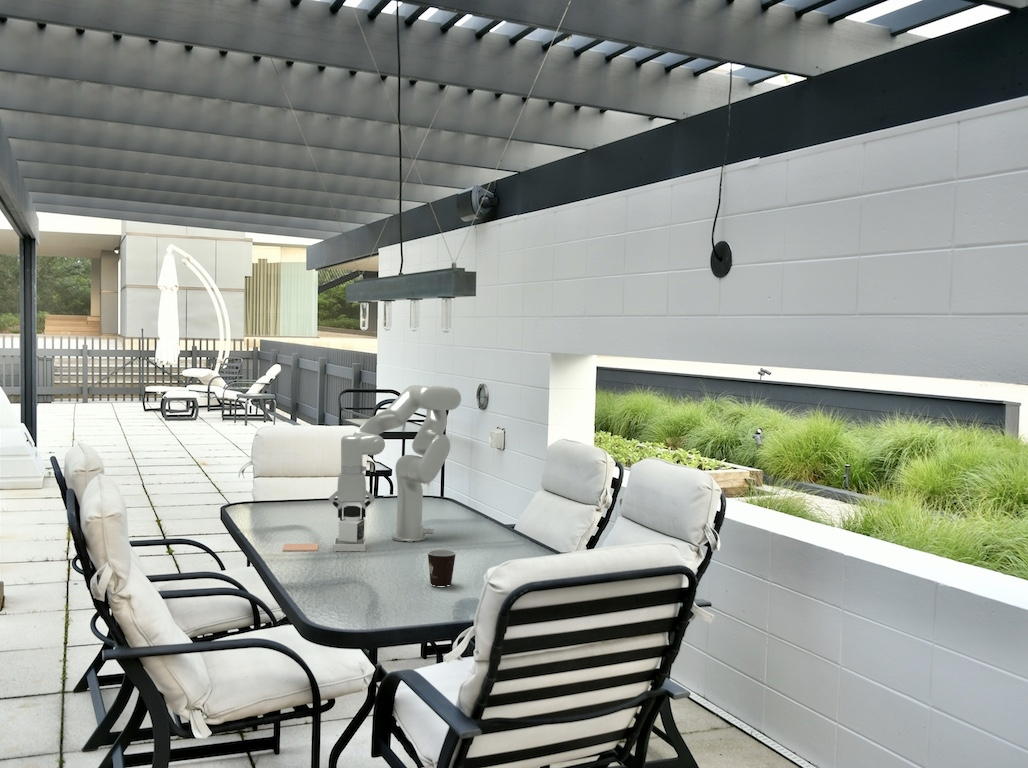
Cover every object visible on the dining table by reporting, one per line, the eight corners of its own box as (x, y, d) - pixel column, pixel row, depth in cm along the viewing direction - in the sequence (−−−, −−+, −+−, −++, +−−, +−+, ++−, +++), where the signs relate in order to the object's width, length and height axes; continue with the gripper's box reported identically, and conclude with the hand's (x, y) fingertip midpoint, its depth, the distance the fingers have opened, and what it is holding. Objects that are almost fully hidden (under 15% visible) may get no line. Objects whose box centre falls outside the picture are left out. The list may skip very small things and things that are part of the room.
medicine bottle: (357, 542, 331) (358, 509, 330) (338, 541, 333) (339, 507, 332) (364, 538, 338) (365, 505, 337) (345, 536, 340) (346, 503, 339)
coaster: (318, 545, 338) (318, 543, 338) (317, 551, 328) (317, 549, 328) (284, 545, 336) (284, 543, 336) (282, 551, 326) (282, 550, 326)
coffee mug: (427, 580, 294) (428, 549, 293) (454, 581, 295) (455, 549, 294) (426, 591, 282) (427, 558, 282) (454, 591, 283) (455, 558, 282)
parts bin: (364, 544, 341) (365, 537, 341) (365, 551, 330) (365, 544, 330) (334, 544, 339) (334, 537, 339) (333, 551, 329) (333, 544, 328)
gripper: (376, 468, 339) (376, 516, 340) (327, 468, 336) (327, 517, 337) (376, 471, 331) (376, 521, 333) (326, 472, 328) (326, 522, 330)
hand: (351, 519), depth 335 cm, fingers closed on medicine bottle, 7 cm apart
